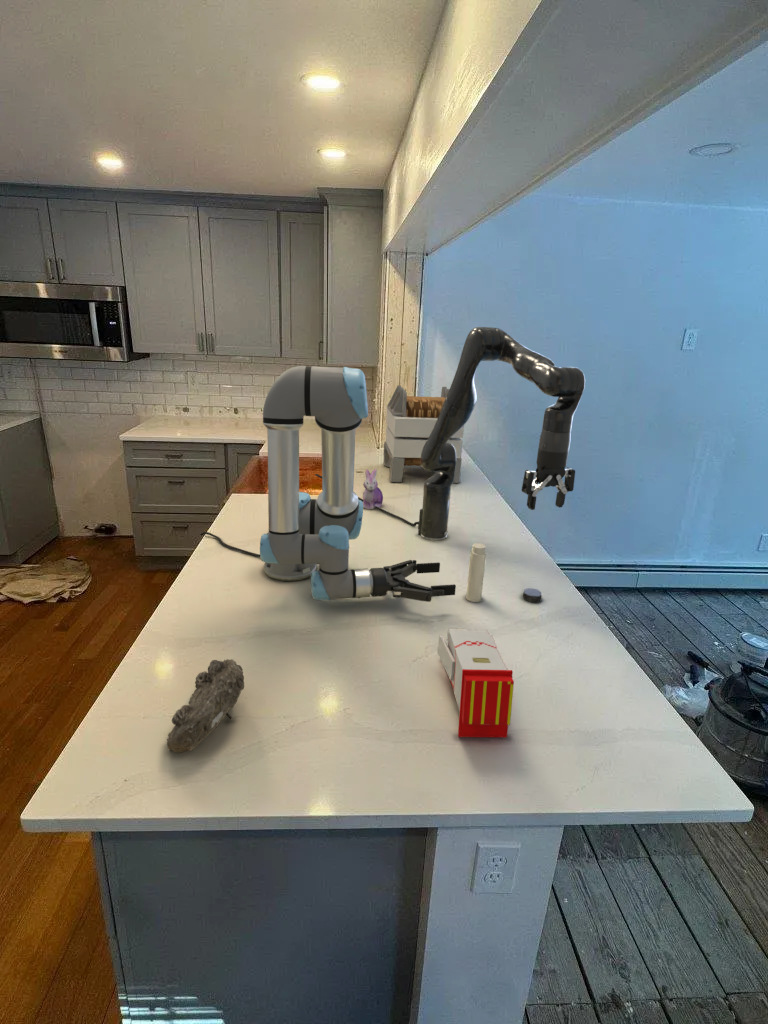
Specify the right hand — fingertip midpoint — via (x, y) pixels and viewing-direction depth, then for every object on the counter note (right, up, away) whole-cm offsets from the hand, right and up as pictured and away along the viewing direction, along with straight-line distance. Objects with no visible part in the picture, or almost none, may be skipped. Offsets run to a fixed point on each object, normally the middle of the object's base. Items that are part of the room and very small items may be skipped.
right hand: (544, 507), depth 150 cm
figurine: (-47, +1, +77) cm, 90 cm away
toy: (-25, -39, -31) cm, 55 cm away
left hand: (-25, -19, +4) cm, 32 cm away
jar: (-18, -25, +8) cm, 32 cm away
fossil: (-75, -40, -41) cm, 95 cm away
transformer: (-25, +18, +125) cm, 129 cm away
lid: (-1, -24, +9) cm, 25 cm away
